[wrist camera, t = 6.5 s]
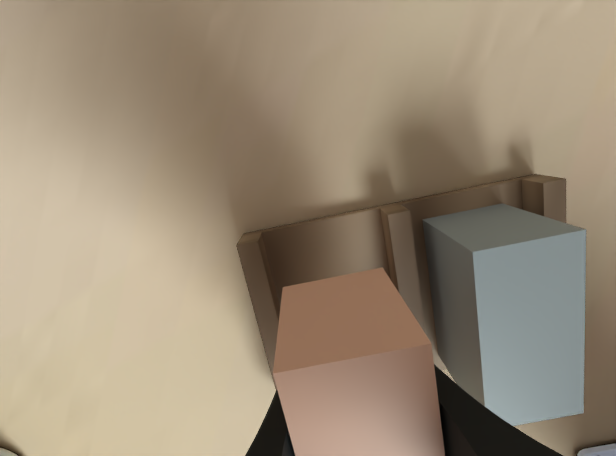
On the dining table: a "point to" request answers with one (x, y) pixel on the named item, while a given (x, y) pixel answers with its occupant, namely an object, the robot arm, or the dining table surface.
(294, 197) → the dining table surface
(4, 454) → the supplement bottle
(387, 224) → the comb rack
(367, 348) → the plug block
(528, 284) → the slate block
